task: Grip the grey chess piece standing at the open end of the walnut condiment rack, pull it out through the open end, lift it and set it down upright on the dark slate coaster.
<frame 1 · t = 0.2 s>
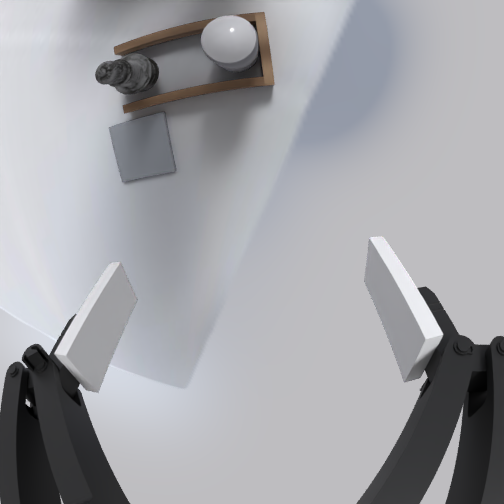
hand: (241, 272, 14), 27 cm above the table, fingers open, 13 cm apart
grey chess piece: (142, 74, 31), on the table
coaster: (142, 147, 37), on the table
rack: (188, 61, 30), on the table
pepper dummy: (236, 53, 30), resting in rack
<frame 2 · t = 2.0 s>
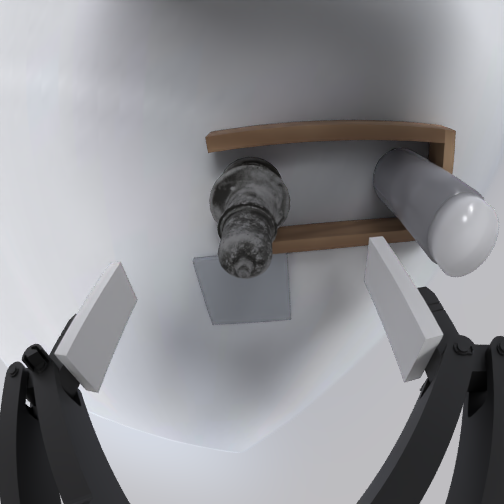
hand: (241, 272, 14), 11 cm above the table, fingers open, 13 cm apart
grey chess piece: (251, 186, 23), on the table
coaster: (245, 289, 29), on the table
rack: (333, 180, 23), on the table
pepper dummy: (400, 177, 22), resting in rack
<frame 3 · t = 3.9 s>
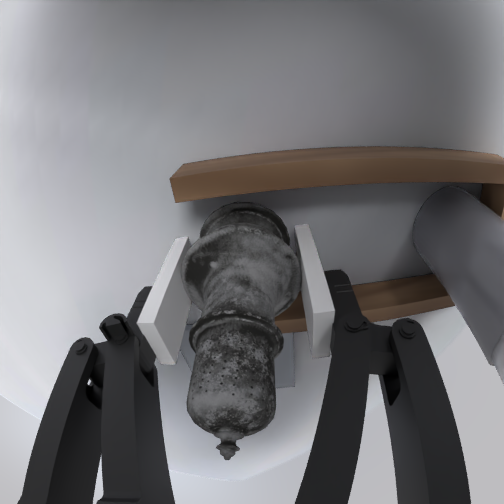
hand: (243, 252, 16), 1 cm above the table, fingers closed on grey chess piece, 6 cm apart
grey chess piece: (244, 242, 17), on the table, touching gripper
coaster: (239, 358, 22), on the table
rack: (361, 232, 16), on the table
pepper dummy: (446, 225, 15), resting in rack
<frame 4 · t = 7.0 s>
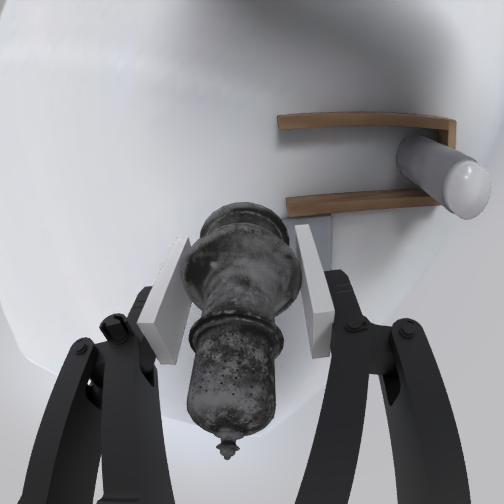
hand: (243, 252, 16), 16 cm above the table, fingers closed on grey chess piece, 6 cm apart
grey chess piece: (244, 242, 17), point 15 cm above the table, touching gripper
coaster: (294, 250, 34), on the table
rack: (367, 157, 28), on the table
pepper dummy: (416, 157, 27), resting in rack
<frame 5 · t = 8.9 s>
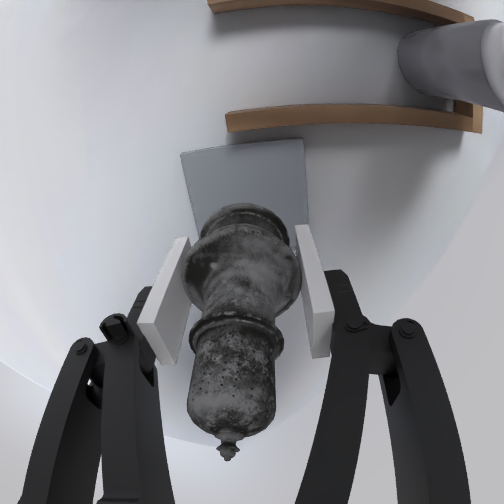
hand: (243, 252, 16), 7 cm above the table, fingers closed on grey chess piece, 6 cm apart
grey chess piece: (244, 243, 17), point 6 cm above the table, touching gripper
coaster: (248, 198, 22), on the table
rack: (353, 53, 15), on the table
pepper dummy: (427, 63, 15), resting in rack
when the fingers open (3 cm above the table, at t = 10.3 s): grey chess piece drops 1 cm, resting on coaster.
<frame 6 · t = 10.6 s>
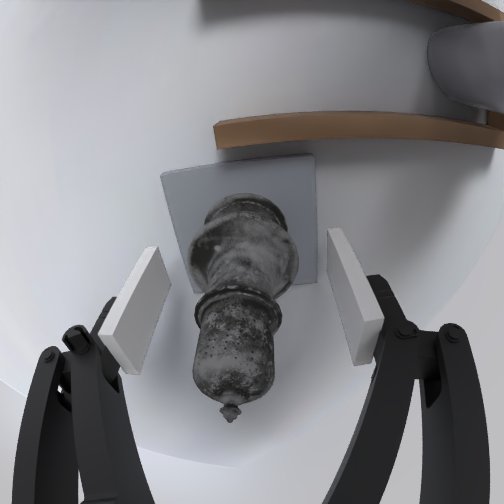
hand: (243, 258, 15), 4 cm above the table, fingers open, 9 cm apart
grey chess piece: (245, 231, 18), resting on coaster
coaster: (245, 228, 18), on the table
rack: (376, 49, 12), on the table
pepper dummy: (459, 65, 11), resting in rack
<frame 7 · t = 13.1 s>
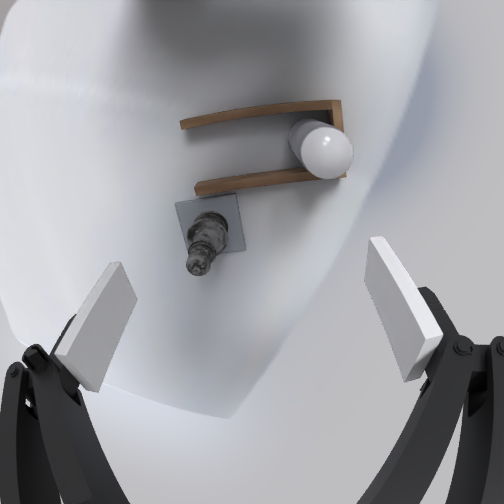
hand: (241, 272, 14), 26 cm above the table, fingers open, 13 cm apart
grey chess piece: (210, 226, 41), resting on coaster
coaster: (211, 225, 42), on the table
rack: (260, 143, 35), on the table
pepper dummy: (309, 138, 35), resting in rack
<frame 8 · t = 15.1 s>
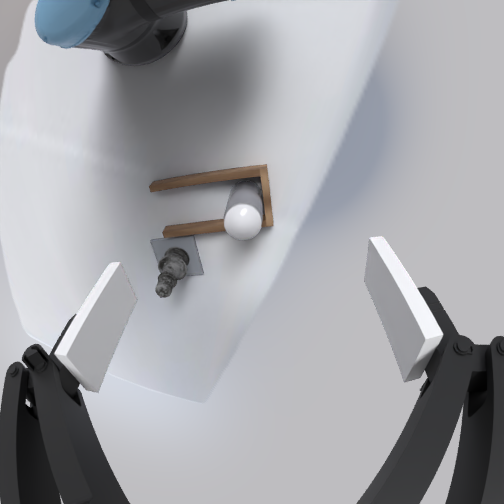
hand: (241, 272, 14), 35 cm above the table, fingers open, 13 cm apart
grey chess piece: (177, 257, 55), resting on coaster
coaster: (177, 256, 56), on the table
rack: (209, 200, 49), on the table
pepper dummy: (245, 195, 48), resting in rack
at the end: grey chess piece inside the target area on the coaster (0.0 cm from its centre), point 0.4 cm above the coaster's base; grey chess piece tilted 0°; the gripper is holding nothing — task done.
